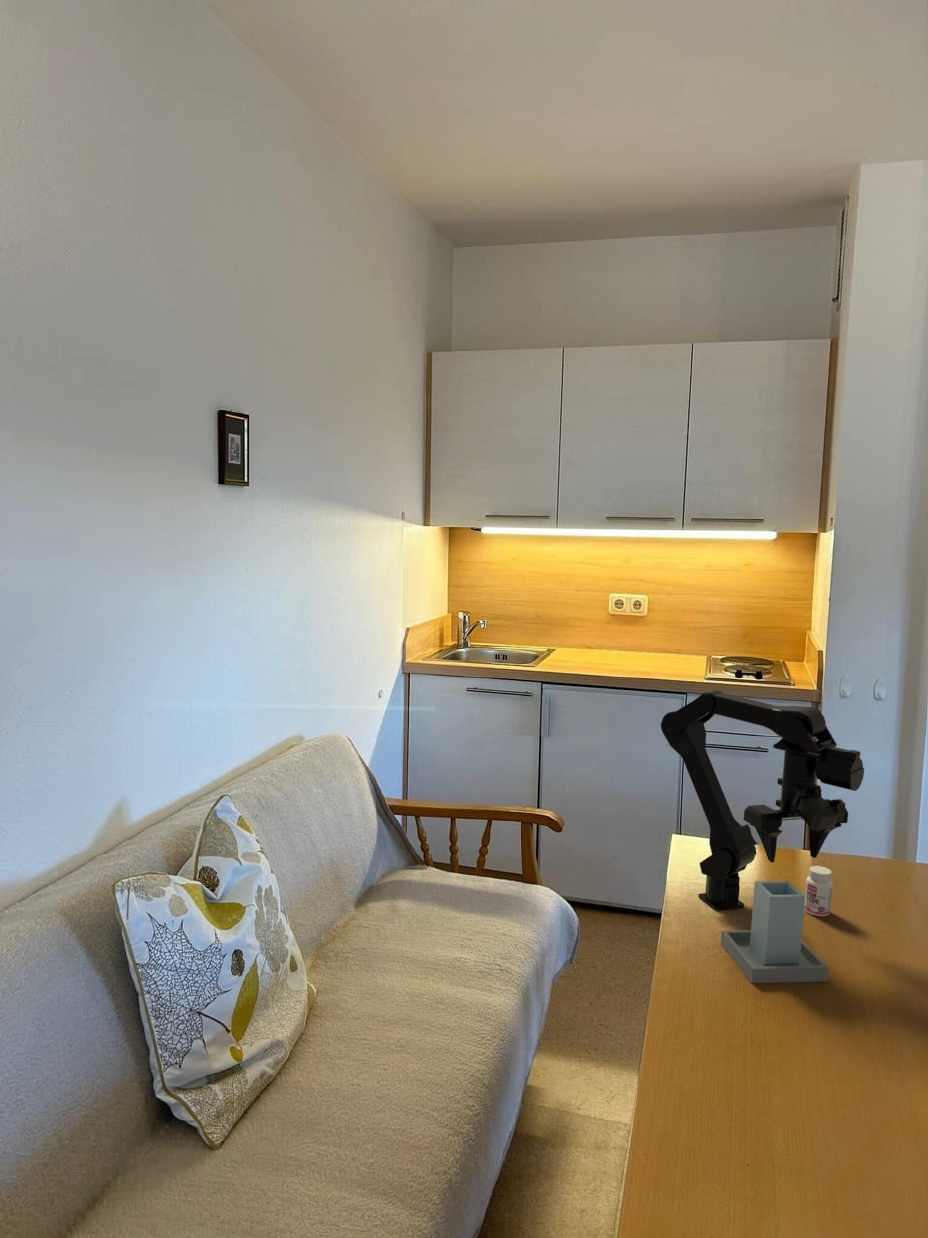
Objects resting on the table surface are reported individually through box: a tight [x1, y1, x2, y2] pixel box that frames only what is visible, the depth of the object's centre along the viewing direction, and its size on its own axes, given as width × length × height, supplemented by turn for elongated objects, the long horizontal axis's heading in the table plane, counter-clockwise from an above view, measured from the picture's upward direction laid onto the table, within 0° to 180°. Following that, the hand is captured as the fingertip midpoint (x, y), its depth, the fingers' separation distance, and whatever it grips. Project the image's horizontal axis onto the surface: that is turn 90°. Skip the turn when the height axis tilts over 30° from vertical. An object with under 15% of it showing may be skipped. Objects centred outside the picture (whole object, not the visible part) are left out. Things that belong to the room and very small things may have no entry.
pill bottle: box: [804, 865, 834, 918], centre depth 173 cm, size 5×5×8 cm
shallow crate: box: [720, 929, 830, 984], centre depth 153 cm, size 13×13×2 cm
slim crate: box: [749, 880, 805, 966], centre depth 152 cm, size 6×6×12 cm
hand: (792, 859), depth 165 cm, fingers open, 9 cm apart
